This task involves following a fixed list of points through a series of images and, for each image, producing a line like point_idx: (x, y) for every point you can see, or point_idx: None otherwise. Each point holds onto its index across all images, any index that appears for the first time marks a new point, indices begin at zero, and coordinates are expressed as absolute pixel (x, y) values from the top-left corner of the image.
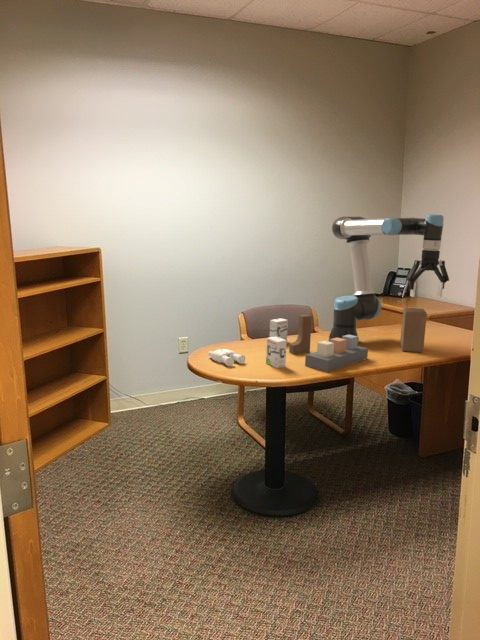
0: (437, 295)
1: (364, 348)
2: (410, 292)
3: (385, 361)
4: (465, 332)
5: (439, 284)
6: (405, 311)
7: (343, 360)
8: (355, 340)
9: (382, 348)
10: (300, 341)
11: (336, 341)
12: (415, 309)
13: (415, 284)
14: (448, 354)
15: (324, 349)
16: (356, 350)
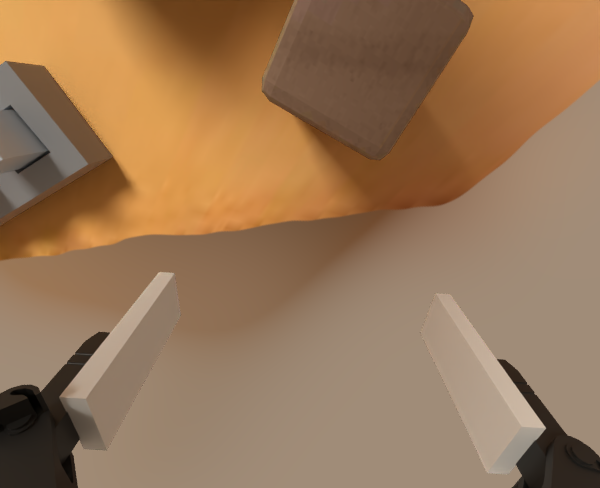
0: (433, 304)
1: (74, 161)
2: (143, 294)
3: (165, 195)
4: None
5: (487, 412)
6: (265, 76)
7: (1, 221)
8: (5, 164)
9: (224, 23)
10: None
11: None
12: (380, 39)
13: (113, 426)
14: (420, 174)
15: None
16: (38, 180)
